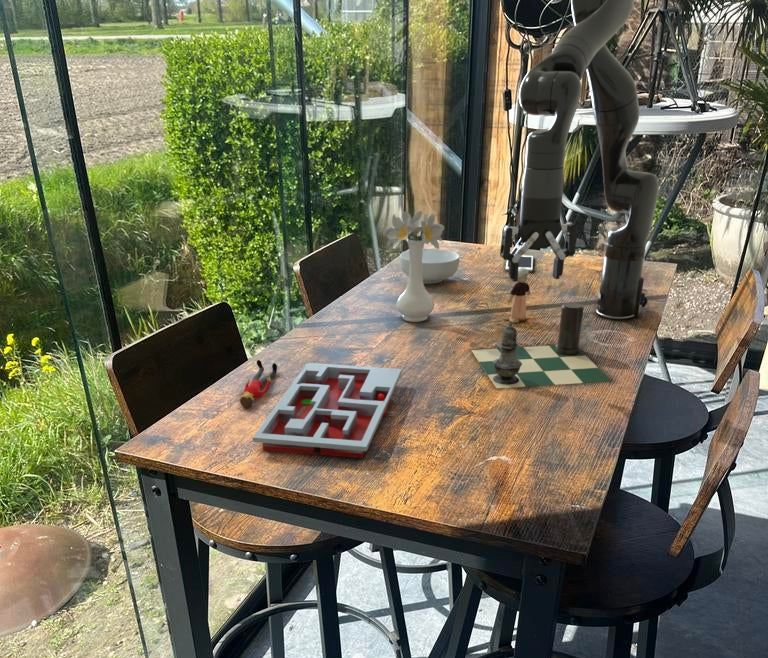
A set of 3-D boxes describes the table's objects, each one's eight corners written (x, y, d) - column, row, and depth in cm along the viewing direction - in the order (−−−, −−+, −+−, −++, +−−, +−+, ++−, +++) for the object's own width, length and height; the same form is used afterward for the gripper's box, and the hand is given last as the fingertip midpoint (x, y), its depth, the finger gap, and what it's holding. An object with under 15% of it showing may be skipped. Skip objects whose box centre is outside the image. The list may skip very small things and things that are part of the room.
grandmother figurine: (517, 325, 193) (522, 272, 186) (503, 322, 195) (507, 269, 188) (532, 317, 198) (537, 265, 191) (519, 314, 200) (523, 263, 193)
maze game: (366, 463, 133) (366, 446, 131) (254, 454, 136) (252, 437, 135) (401, 383, 162) (401, 368, 161) (308, 377, 165) (307, 362, 164)
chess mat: (574, 344, 181) (574, 343, 181) (611, 381, 163) (611, 380, 163) (471, 350, 178) (471, 349, 178) (496, 388, 160) (496, 388, 160)
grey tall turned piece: (502, 387, 160) (506, 329, 154) (486, 377, 165) (489, 320, 158) (526, 381, 162) (531, 324, 156) (509, 372, 167) (514, 316, 161)
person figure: (276, 354, 165) (251, 388, 149) (283, 372, 166) (259, 407, 151) (254, 360, 166) (227, 394, 151) (261, 378, 168) (235, 413, 153)
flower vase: (445, 307, 205) (449, 205, 192) (433, 331, 189) (436, 221, 176) (396, 304, 207) (396, 203, 194) (380, 327, 192) (379, 219, 179)
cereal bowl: (460, 288, 219) (461, 262, 215) (399, 288, 219) (400, 262, 216) (456, 272, 234) (457, 247, 230) (399, 272, 234) (399, 247, 230)
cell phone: (505, 270, 234) (505, 268, 234) (507, 256, 247) (507, 254, 247) (532, 271, 233) (532, 269, 232) (532, 257, 246) (533, 255, 246)
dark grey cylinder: (575, 346, 180) (580, 300, 175) (583, 354, 175) (589, 308, 170) (551, 347, 179) (556, 302, 174) (559, 355, 175) (565, 309, 169)
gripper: (510, 198, 145) (505, 287, 154) (586, 194, 147) (576, 282, 155) (499, 190, 151) (495, 276, 160) (572, 186, 153) (563, 271, 162)
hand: (535, 279), depth 158 cm, fingers open, 8 cm apart
